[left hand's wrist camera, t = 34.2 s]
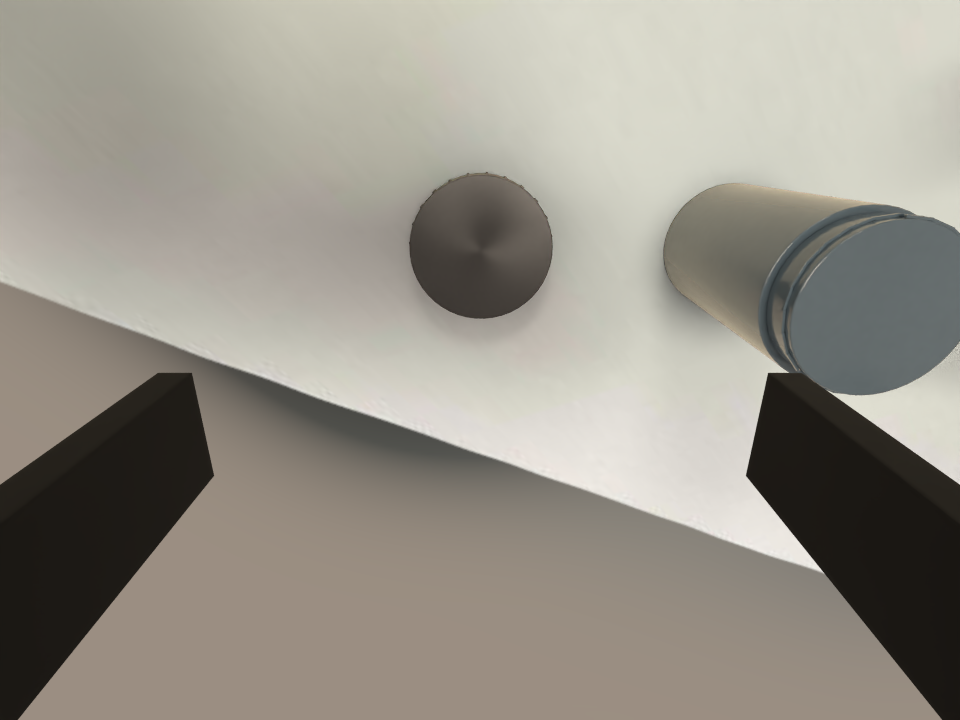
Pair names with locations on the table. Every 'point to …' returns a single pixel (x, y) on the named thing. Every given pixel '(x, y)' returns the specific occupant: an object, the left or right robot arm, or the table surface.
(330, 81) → the table surface
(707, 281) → the jar
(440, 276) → the lid
